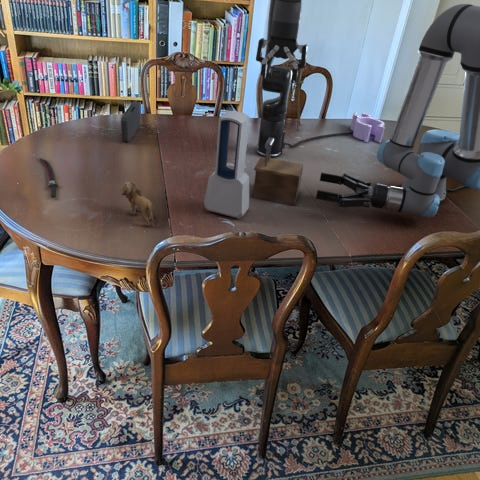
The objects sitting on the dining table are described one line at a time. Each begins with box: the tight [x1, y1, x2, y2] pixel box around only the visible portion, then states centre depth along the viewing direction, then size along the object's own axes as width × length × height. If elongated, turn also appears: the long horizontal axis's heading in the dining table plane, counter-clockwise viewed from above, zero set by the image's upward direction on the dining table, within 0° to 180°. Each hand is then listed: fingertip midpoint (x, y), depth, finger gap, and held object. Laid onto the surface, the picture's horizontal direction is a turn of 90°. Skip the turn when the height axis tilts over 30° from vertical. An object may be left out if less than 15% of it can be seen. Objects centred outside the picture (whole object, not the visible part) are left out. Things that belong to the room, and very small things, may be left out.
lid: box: [253, 137, 305, 178], centre depth 148 cm, size 14×10×9 cm
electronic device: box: [203, 110, 251, 220], centre depth 135 cm, size 12×8×30 cm, turn 71°
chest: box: [252, 168, 304, 206], centre depth 153 cm, size 14×10×10 cm
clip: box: [349, 112, 386, 144], centre depth 214 cm, size 20×12×7 cm, turn 11°
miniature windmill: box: [285, 64, 305, 131], centre depth 208 cm, size 9×8×30 cm
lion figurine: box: [119, 181, 159, 227], centre depth 134 cm, size 15×5×9 cm, turn 50°
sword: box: [40, 158, 59, 198], centre depth 151 cm, size 31×3×1 cm, turn 26°
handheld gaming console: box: [120, 101, 141, 143], centre depth 188 cm, size 23×3×10 cm, turn 178°
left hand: (278, 79), depth 137 cm, fingers open, 8 cm apart
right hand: (318, 185), depth 149 cm, fingers open, 13 cm apart
